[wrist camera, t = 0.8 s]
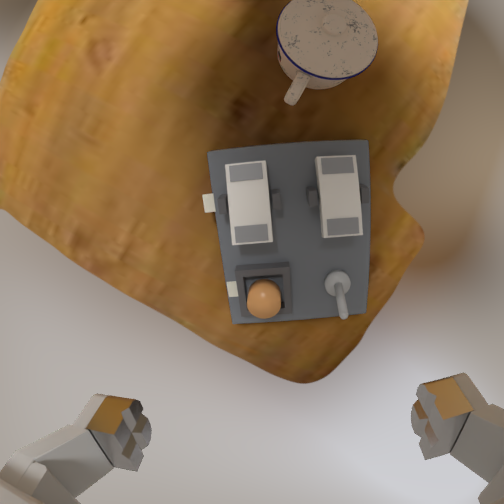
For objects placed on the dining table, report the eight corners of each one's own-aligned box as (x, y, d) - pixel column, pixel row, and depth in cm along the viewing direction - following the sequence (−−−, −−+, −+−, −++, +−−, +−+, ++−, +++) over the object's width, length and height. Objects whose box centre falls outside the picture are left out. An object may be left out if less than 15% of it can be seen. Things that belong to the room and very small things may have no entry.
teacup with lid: (296, 9, 27) (306, -38, 16) (366, 46, 28) (405, 15, 17) (249, 90, 31) (238, 70, 20) (321, 127, 32) (345, 125, 21)
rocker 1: (227, 167, 31) (224, 164, 30) (266, 163, 31) (265, 160, 29) (234, 243, 32) (231, 245, 31) (273, 240, 32) (272, 242, 30)
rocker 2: (314, 159, 31) (316, 156, 29) (352, 157, 30) (355, 154, 28) (321, 236, 31) (324, 238, 30) (358, 234, 31) (363, 235, 29)
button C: (246, 280, 35) (245, 290, 32) (279, 277, 34) (279, 288, 32) (250, 307, 36) (248, 319, 34) (281, 305, 36) (281, 317, 33)
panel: (202, 151, 34) (183, 157, 26) (360, 139, 32) (384, 142, 25) (227, 311, 42) (218, 349, 34) (360, 301, 40) (376, 336, 32)
